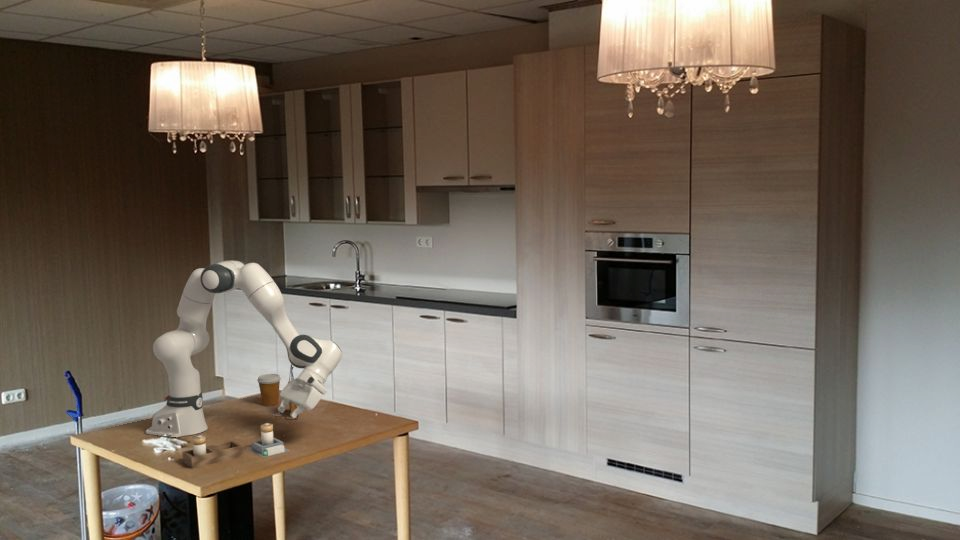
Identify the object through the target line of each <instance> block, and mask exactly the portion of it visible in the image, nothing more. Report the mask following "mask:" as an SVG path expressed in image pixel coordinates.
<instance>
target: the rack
mask: <svg viewBox="0 0 960 540" xmlns="http://www.w3.org/2000/svg"><path fill="white" fill-rule="evenodd" d="M244 453H245V451H244V445H242V444H240V443H239V442H237V441H235V440H229V441H224V442H221V443H216V444H212V445H208V446H207V445H206V454H203V455H199V456H194V454H193V449H189V450H185V451H182V463H183V464H185V465H186V466H188V467H189V468H190V469H197V468H201V467H205V466H210V465H213V464H218V463H221V462H227V461H231V460H234V459H239V458H243V457H244V456H245V454H244Z"/></svg>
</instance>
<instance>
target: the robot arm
mask: <svg viewBox="0 0 960 540" xmlns="http://www.w3.org/2000/svg"><path fill="white" fill-rule="evenodd" d="M237 289H239V290H241V292H243V293H244V295H245V296H246V298H247V299H248V300H249V302H250V303H251V305H252V306H253V307H254V308H255V309H256V311H257V312H258V313H259V314H260V315H261V316H262V317H263V318H264V319H265V320H266V321H267V323H268V324H270V325H271V327H272V329H273V330H274V331H275V333H276V334H277V335H278V336H277V337H279V338H280V340H281V342H282V343H283V345H284V346H285V349H286V353H287V357H288V360H289V363H290V365H291V364H292V367H295V368H297V369H303V370H302V371H301V372H300V373H299V375H298V376H297V377H296V378H294V380H291V379H290V382H289V383H288V382H287V384H286V385H284V386H285V387H283V388H282V390H281V391H279V398H281V401H280V405H279V406H278V408H277V411H278V413H279V412H281V413H280V414H283V413H284V412H286V407H287V406H288V404H289V402H290V403H292V404H295V405H297V407H298V408H297V409H296V410H294V411H292V412H291V414H290V413H289V416H290V417H291V418H292V419H297V418H298V416H299V414H301V413H303V411H304V410H307V411H312V410H313V409H314V408H316V407H317V404H318V403H319V402H320V400H321V399H322V398H323V395H324V396H325V394H326V393H327V392H328V389H327V387H326V386H325V385H324V384H325V383H326V381H327V379H328V377H329V376H330V375H331V374H332V373H333V372H334V370H335V369H336V368H337V366H338V364H339V363H340V362H341V359H342V357H343V354H342V353H343V351H342V350H341V348H340V347H339V345H338V343H336V342H334V341H333V340H331V339H320V338H316V337H312V336H310V335H307V334H299V333H298V331H297V329H296V328H295V327H294V325H293V324H292V322H291V321H290V319H289V317H288V314H287V312H286V307H285V299H284V296H283V293H282V292H281V290H280V288H279V287H278V285H277V283H276V282H275V280H274V279H273V278H272V276H270V274H269V273H268V272H267V271H266V269H264V268H263V267H262V266H261V265H260V264H259V263H257V262H248V263H247V262H246V261H243V260H240V259H232V260H223V261H220V262H216V263H213V264H210V265H208V266H206V267H205V268H203V267H201V268H200V267H199V268H197V269H195V270H193V272H192V273H191V274H190V276H189V278H188V279H187V281H186V284H185V286H184V288H183V291H182V293H181V297H180V301H179V302H178V306H177V308H176V314H177V317H179V325H178V327H177V328H176V329H174V330H171V331H168V332H165V333H164V334H161V335H160V336H159V337H157V338H156V339H155V340H154V342H153V345H152V351H153V354H154V356H155V357H156V358H157V360H159V361H160V362H161V363H162V364H163V366H164V368H165V370H166V374H167V379H168V388H169V395H167V396H166V397H164V398H163V401H164V402H165V401H166V403H165V404H166V405H164V406H163V407H162V408H161V409H160V410H158V411H157V412H156V413H155V414H154V415H153V417H152V421H151V426H150V427H149V428H147V429H146V430H145V434H146V435H151V436H157V435H158V437H162V436H161V435H163V434H168V435H171V436H174V437H176V438H180V437H184V436H192V435H197V434H200V433H202V432H205V431H207V430H208V429H209V427H208V425H207V422H206V419H205V414H204V409H203V403H204V401H203V392H202V391H201V377H200V375H201V374H200V372H199V370H198V369H196V368H195V367H194V365H193V363H192V360H191V356H194V355H197V354H199V353H201V352H202V351H203V350H205V349H206V348H207V347H208V346H209V343H210V335H209V332H208V330H207V322H208V316H209V315H210V310H211V308H212V305H213V301H214V299H215V296H216V294H222V293H227V292H232V291H234V290H237ZM297 415H298V416H297Z"/></svg>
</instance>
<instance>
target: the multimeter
mask: <svg viewBox="0 0 960 540" xmlns="http://www.w3.org/2000/svg"><path fill="white" fill-rule="evenodd" d="M293 369H294V366H293V365H292V364H291V363H290V371H289V374H290V377H289V379H288V382H287V384H288V383H289V382H290V381H291V380H294V379H295V378H294V373H293ZM288 404H289V406H288V407H289V409H287V410H286V409H285V412H288V411H289V415H290V414H291V412H292V411H294V410H296V409H297V408H298V407H297V405H295V404H292V403H290V402H289V403H288ZM281 414H282V413H281V412H279V411H278V413H276V414H274V416H275V417H282V415H281ZM284 419H285V420H288V421H296V420H298V419H299V414H298V415H297V417H296V418H292V419H291V418H286V416H285V415H284Z"/></svg>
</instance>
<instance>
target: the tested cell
mask: <svg viewBox="0 0 960 540" xmlns="http://www.w3.org/2000/svg"><path fill="white" fill-rule="evenodd" d="M260 435H261V439H260V440H261V441H262V446H266V445H270V444H274V440H273V437H274V424H273V423H269V422H265V423H263V424H261V425H260Z"/></svg>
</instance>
